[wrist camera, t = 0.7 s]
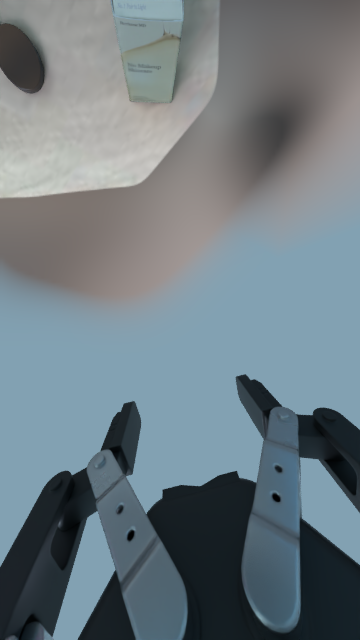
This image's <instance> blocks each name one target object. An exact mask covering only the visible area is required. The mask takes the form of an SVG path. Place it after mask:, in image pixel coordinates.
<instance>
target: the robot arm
mask: <svg viewBox="0 0 360 640" xmlns="http://www.w3.org/2000/svg"><path fill="white" fill-rule="evenodd" d="M236 382H237V390H238V395H239V398H240V401H241V403H242V404H243V406H244V407H245V409H246V411H247V412H248V414H249V416H250V417H251V419H252V421H253V422H254V424H255V426H256V427H257V429H258V431H259V432H260V433H261V436H262V437H263V438H264V441H263V447H262V453H261V460H260V466H259V472H258V478H257V483H255V482H253V481H250V480H247V479H243V478H239V476H238V474H237V471H235V472H230V473H227V474H223V475H219V476H217V477H215V478H214V479H212V480H211V481H209V482H207V483H206V484H204V485H202V486H187V485H179V486H176V487H172V488H168V489H164V490H163V498H162V499H160V500H159V501H158V502H156V503H155V504H154V505H153V506H152V507H151V509H150V510H149V511H148V512H147V514H146V513H145V511H144V509H143V507H142V506H141V504H140V502H139V500H138V498H137V496H136V495H135V493H134V491H133V489H132V487H131V485H130V483H129V482H128V480H127V478H126V476H128V475H132V474H133V468H134V463H135V457H136V451H137V446H138V440H139V434H140V428H141V418H140V415H139V412H138V409H137V407H136V403H135V402H134V401H133V402H129V403H125V404H124V405H123V407H122V410H121V412H118V413H117V414H116V416H115V417H114V418H113V420H112V422H111V426H110V428H109V430H108V433H107V435H106V438H105V440H104V443H103V446H102V448H101V451H100V452H99V453H97V454H96V455H95V456H94V457H93V458H92V459H91V460H90V462H89V464H88V466H87V468H85V469H83V470H81V471H80V472H78V473H76V474H74V475H71V473H70V472H69V471H63V472H60V473H58V474H57V475H55V476H54V477H53V478H52V479H51V480H50V481H49V482H48V483H47V484H46V486H45V487H44V488H43V490H42V492H41V494H40V496H39V497H38V499H37V501H36V503H35V505H34V507H33V508H32V510H31V512H30V514H29V516H28V518H27V519H26V521H25V523H24V525H23V527H22V529H21V530H20V532H19V534H18V536H17V538H16V540H15V541H14V543H13V545H12V547H11V549H10V551H9V552H8V554H7V556H6V558H5V560H4V561H3V563H2V565H1V567H0V640H54V639H53V638H52V636H53V633H54V630H55V626H56V623H57V619H58V616H59V613H60V609H61V606H62V602H63V599H64V596H65V592H66V588H67V585H68V582H69V578H70V575H71V572H72V568H73V565H74V561H75V558H76V555H77V551H78V548H79V544H80V541H81V537H82V534H83V531H84V527H85V524H86V520H87V517H89V516H90V515H92V514H93V513H94V512H96V511H98V514H99V517H100V520H101V523H102V526H103V530H104V533H105V536H106V539H107V543H108V546H109V549H110V552H111V556H112V559H113V562H114V565H115V569H116V570H115V572H114V574H113V575H112V577H111V579H110V581H109V583H108V585H107V586H106V588H105V590H104V592H103V594H102V595H101V597H100V599H99V601H98V603H97V605H96V607H95V608H94V611H93V612H92V614H91V616H90V618H89V619H88V621H87V623H86V625H85V627H84V629H83V630H82V632H81V634H80V636H79V638H78V640H360V565H359V564H358V563H356V562H355V561H354V560H353V559H352V558H350V557H349V556H348V555H347V554H345V553H344V552H343V551H342V550H340V549H339V548H338V547H337V546H335V545H334V544H333V543H332V542H330V541H329V540H328V539H327V538H326V537H324V536H323V535H322V534H321V533H319V532H318V531H317V530H316V529H314V528H313V527H312V526H311V525H310V524H308V523H307V522H306V521H305V520H303V519H302V503H301V477H300V476H301V475H300V474H301V473H300V457H302V458H313V459H319V461H320V462H321V463H322V465H323V466H324V467H325V468H326V470H327V471H328V472H329V474H330V475H331V476H332V477H333V479H334V480H335V481H336V483H337V484H338V485H339V486H340V488H341V489H342V490H343V492H344V493H345V494H346V496H347V497H348V498H349V499H350V501H351V502H352V503H353V505H354V506H355V507H356V508H357V510H358V511H359V512H360V430H359V429H358V428H357V427H356V426H354V425H353V424H352V423H351V422H350V421H348V420H347V419H346V418H345V417H344V416H343V415H341V414H340V413H338V412H337V411H335V410H332V409H328V408H317V409H315V410H314V412H313V415H297V414H295V413H294V412H293V411H292V410H290V409H288V408H285V407H282V406H281V404H279V402H278V401H277V400H276V399H275V398H274V397H273V396H272V395H271V393H269V391H268V390H267V389H266V388H265V387H264V386H263V385H262V383H260V382H258V381H256V380H250V379H249V378H248V376H246V375H241V376H237V377H236Z"/></svg>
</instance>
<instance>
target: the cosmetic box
mask: <svg viewBox="0 0 360 640" xmlns="http://www.w3.org/2000/svg"><path fill="white" fill-rule="evenodd" d="M111 6H112V12H113V17H114V23H115V28H116V33H117V38H118V43H119V48H120V53H121V59H122V63H123V68H124V74H125V78H126V83H127V88H128V93H129V98H130V101H136V102H158V103H171V102H172V95H173V88H174V81H175V74H176V67H177V60H178V54H179V47H180V39H181V33H182V26H183V19H184V0H111Z"/></svg>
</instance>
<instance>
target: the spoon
mask: <svg viewBox="0 0 360 640" xmlns="http://www.w3.org/2000/svg"><path fill="white" fill-rule="evenodd" d="M0 67H1V69H2V71H3V72H4V74H5V75H6V76H7V78H8V79H9V80H10V81H11V82H12V83H13V84H14V85H15V86H16V87H18V88H19V89H20V90H22V91H24V92H27V93H36V92H38V91H39V90H40V89H41V87H42V85H43V81H44V70H43V65H42V62H41V59H40V56H39V54H38V52H37V50H36V49H35V47H34V45H33V44H32V43H31V41H30V40H29V39H28V37H27V36H26V35H25V34H24V33H23V32H22V31H21V30H20V29H18V28H17V27H15V26H13V25H11V24H1V25H0Z"/></svg>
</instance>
